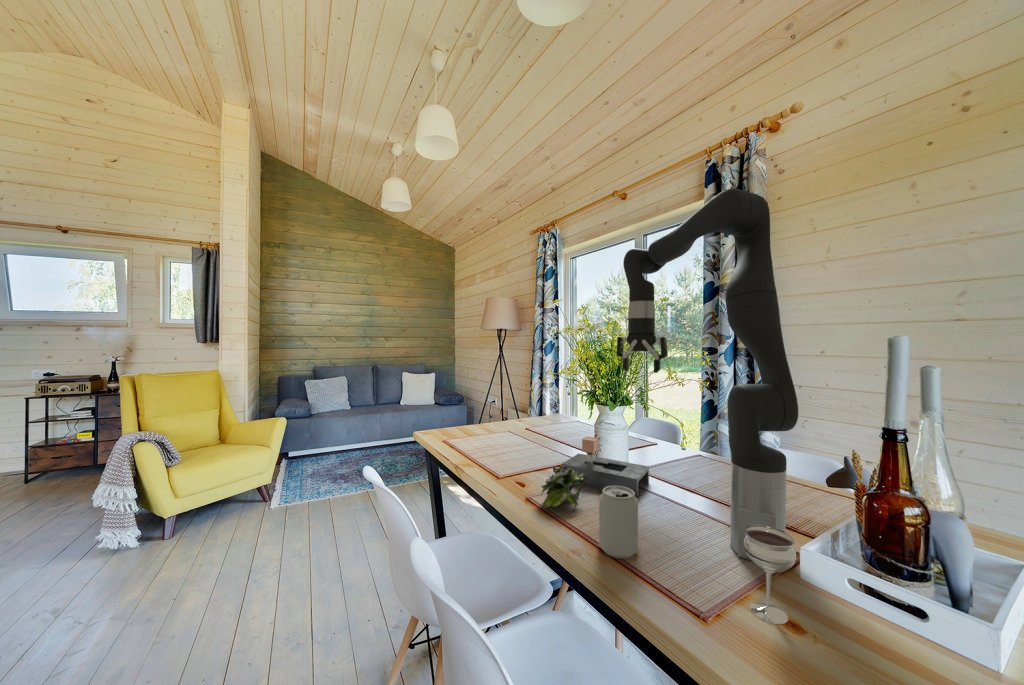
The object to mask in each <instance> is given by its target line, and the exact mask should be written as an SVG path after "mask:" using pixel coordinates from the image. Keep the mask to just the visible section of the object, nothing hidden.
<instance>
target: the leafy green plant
mask: <svg viewBox="0 0 1024 685" xmlns="http://www.w3.org/2000/svg"><path fill="white" fill-rule="evenodd" d="M566 468H567V466H562V465H558V467H556V466H553V467H552V470H553V471H552V472H553V473H554V474H553V473H552V475H551V476H550V475H549V476H548V477H549V478H546V481H545V482H544V483H545V484H543V485H540V487H541V488H542V489H541V490H542V491H541V494H543V493H545V491H546V497H545V498H544V501H543V503H542V504H543V508H544V509H548V508H550V507H552V508H555V507H558V506H560V505H561V504H562V503H563V502H565V500H566V499H567V498H568V501H569V502H570V503H571V504H572V505H574V509H573V510H574V511H576V509H577V507H578V506H579V503H578V499H579V496H580V492H581V490H582V488H583V487H584V486H583V485H584V483H585V481H586V479H587V476H586V474H585V476H584V474H581V475H578V473H577V471H576V470H574V469H573V470H572V468H570V469H566ZM565 469H566V471H565ZM562 471H563V472H562ZM577 475H578V476H579V477H577ZM579 482H583V484H582V485H579V484H580V483H579ZM573 486H580V487H579V489H578V491H577V492H576V493H573V492H571V491H572V489H573Z"/></svg>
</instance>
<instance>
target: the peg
mask: <svg viewBox="0 0 1024 685" xmlns="http://www.w3.org/2000/svg"><path fill="white" fill-rule="evenodd" d="M581 451H582V452H585V453H586V455H587V463H588V464H593V459H594V456H595V455H594V453H596V452H598V451H599V438H598V437H594V436H593V437H592V436H585V437H583V438H582V439H581Z"/></svg>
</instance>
